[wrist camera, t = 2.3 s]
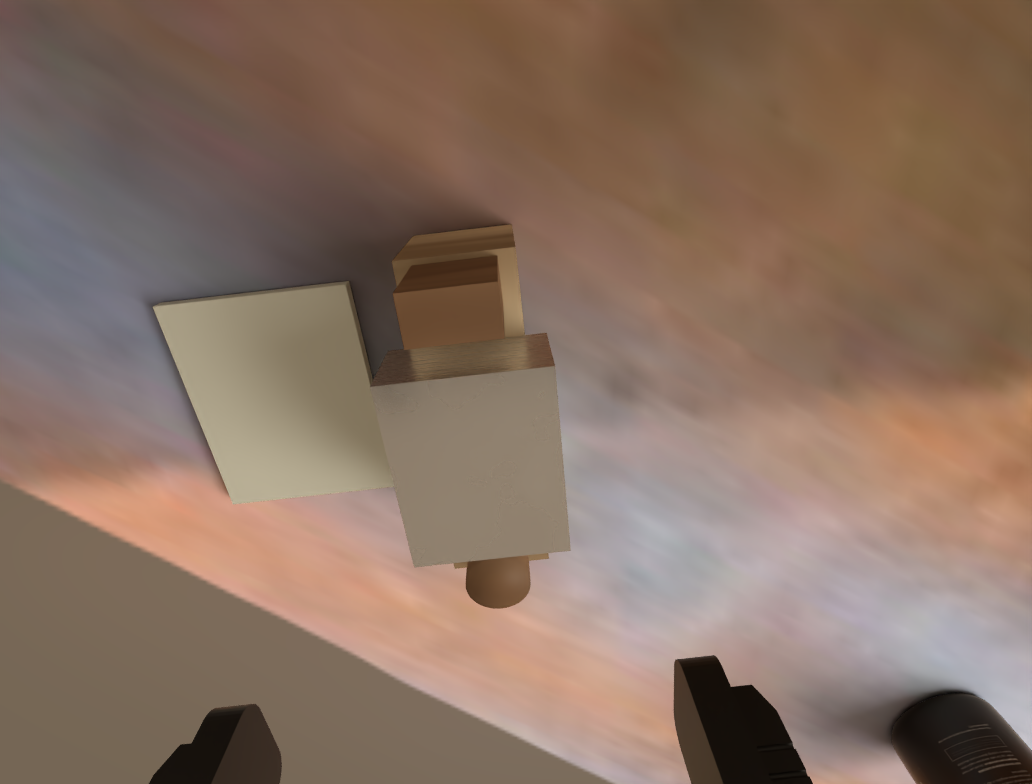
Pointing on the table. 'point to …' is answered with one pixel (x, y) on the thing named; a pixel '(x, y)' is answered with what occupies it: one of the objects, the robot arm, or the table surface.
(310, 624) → the table surface
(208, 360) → the mat
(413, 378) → the lever cap
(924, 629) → the table surface
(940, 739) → the supplement bottle
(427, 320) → the body
